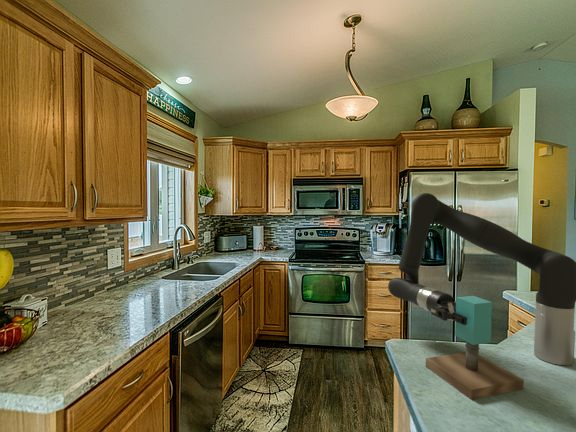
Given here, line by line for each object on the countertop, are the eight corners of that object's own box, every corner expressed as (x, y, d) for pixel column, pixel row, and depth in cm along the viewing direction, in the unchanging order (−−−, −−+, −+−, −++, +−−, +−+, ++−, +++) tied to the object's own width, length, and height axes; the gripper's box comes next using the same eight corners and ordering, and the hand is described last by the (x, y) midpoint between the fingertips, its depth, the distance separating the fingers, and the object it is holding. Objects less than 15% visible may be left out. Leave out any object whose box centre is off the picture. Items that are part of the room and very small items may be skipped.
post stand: (471, 359, 95) (472, 321, 95) (523, 388, 80) (525, 343, 80) (425, 366, 91) (426, 326, 90) (471, 399, 75) (472, 351, 75)
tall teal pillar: (472, 333, 89) (473, 295, 88) (490, 342, 83) (492, 302, 82) (455, 335, 87) (456, 297, 87) (473, 344, 81) (474, 304, 81)
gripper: (416, 291, 97) (457, 308, 81) (453, 288, 100) (499, 304, 85) (416, 315, 97) (457, 336, 81) (453, 311, 101) (498, 330, 85)
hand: (478, 319), depth 83 cm, fingers open, 8 cm apart
